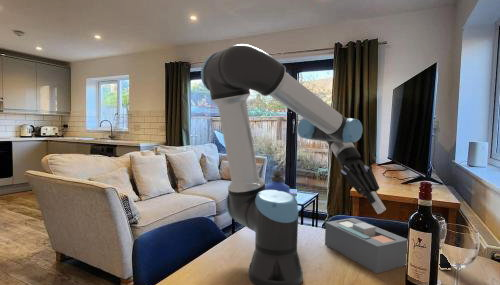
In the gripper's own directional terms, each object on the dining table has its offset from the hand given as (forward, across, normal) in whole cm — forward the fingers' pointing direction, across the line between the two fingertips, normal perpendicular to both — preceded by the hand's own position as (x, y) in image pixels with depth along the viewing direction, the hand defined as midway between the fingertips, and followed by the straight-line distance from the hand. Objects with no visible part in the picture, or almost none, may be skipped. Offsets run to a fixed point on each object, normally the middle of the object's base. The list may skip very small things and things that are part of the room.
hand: (381, 211), depth 93 cm
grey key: (+2, 0, -12) cm, 12 cm away
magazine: (+17, -16, -6) cm, 24 cm away
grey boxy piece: (+7, 0, -16) cm, 17 cm away
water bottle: (-11, +19, -34) cm, 41 cm away
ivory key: (-2, 0, -18) cm, 18 cm away
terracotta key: (+9, 0, -8) cm, 12 cm away
